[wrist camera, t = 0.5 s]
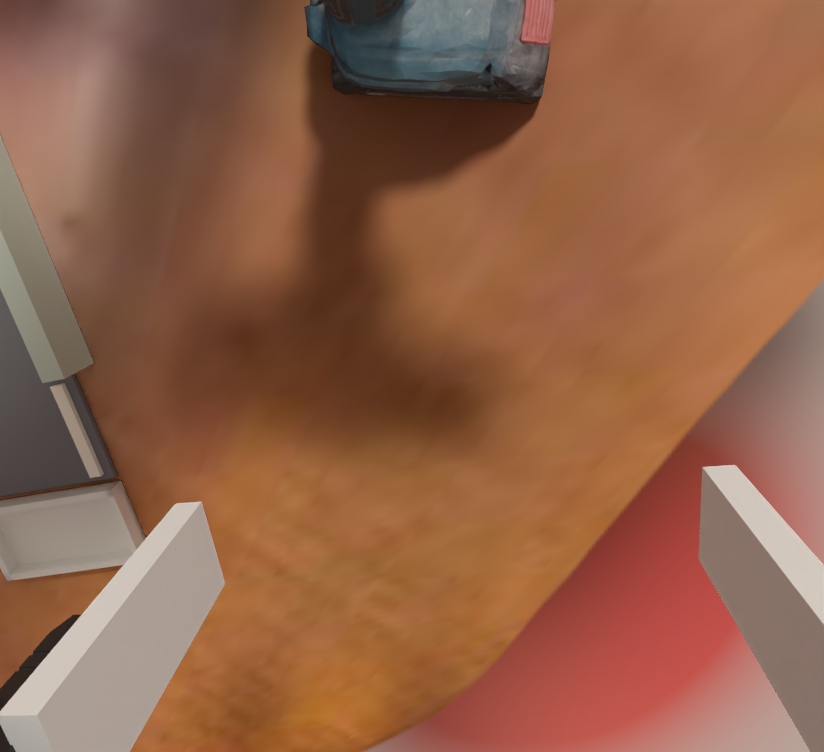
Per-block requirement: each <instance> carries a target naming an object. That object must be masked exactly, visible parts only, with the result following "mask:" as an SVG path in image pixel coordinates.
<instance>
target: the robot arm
mask: <svg viewBox="0 0 824 752" xmlns="http://www.w3.org/2000/svg"><path fill="white" fill-rule="evenodd" d="M700 515H701V516H700V539H699V561H700V563H701V565H702V566H703V568H704V570H705V571H706V573H707V575H708V577H709V578H710V580H711V582H712V583H713V585H714V587H715V589H716V590H717V592H718V594H719V595H720V597H721V599H722V601H723V602H724V604H725V606H726V607H727V609H728V611H729V613H730V614H731V616H732V618H733V619H734V621H735V623H736V625H737V626H738V628H739V630H740V632H741V633H742V635H743V636H744V638H745V640H746V642H747V644H748V645H749V647H750V649H751V650H752V652H753V654H754V655H755V657H756V659H757V661H758V662H759V664H760V665H761V667H762V669H763V671H764V672H765V674H766V676H767V678H768V680H769V681H770V683H771V685H772V686H773V688H774V690H775V692H776V693H777V695H778V696H779V698H780V700H781V702H782V704H783V705H784V707H785V709H786V710H787V712H788V714H789V716H790V717H791V719H792V721H793V722H794V724H795V726H796V728H797V729H798V731H799V733H800V734H801V736H802V738H803V740H804V741H805V743H806V745H807V746H808V748H809V750H810V752H824V565H823V564H822V563H821V561H820V560H819V559H818V558H817V557H816V556H815V555H814V554H813V552H812V551H811V550H810V549H809V548H808V547H807V546H806V545H805V543H804V542H803V541H802V540H801V539H800V538H799V537H798V536H797V534H796V533H795V532H794V531H793V530H792V529H791V528H790V526H789V525H788V524H787V523H786V522H785V521H784V520H783V518H781V516H780V515H779V514H778V513H777V512H776V511H775V510H774V508H773V507H772V506H771V505H770V504H769V503H768V502H767V500H766V499H765V498H764V497H763V496H762V495H761V494H760V493H759V491H758V490H757V489H756V488H755V487H754V486H753V485H752V483H751V482H750V481H749V480H748V479H747V478H746V477H745V476H744V474H743V473H742V472H741V471H740V470H739V469H738V468H737V466H736V465H727V466H712V467H702V491H701V514H700ZM224 585H225V581H224V578H223V574H222V571H221V567H220V564H219V560H218V557H217V553H216V550H215V546H214V543H213V539H212V536H211V533H210V529H209V526H208V522H207V519H206V515H205V512H204V508H203V505H202V502H190V503H176V504H175V505H174V506H173V507H172V508H171V509H170V511H169V512H168V513H167V514H166V515H165V517H164V518H163V519H162V520H161V521H160V522H159V524H158V525H157V526H156V527H155V528H154V530H153V531H152V532H151V533H150V534H149V535H148V537H147V538H146V539H145V540H144V541H143V543H142V544H141V545H140V546H139V547H138V549H137V550H136V551H135V552H134V553H133V554H132V556H131V557H130V558H129V559H128V560H127V562H126V563H125V564H124V565H123V566H122V567H121V569H120V570H119V571H118V572H117V573H116V575H115V576H114V577H113V578H112V579H111V581H110V582H109V583H108V584H107V585H106V586H105V588H104V589H103V590H102V591H101V592H100V594H99V595H98V596H97V597H96V598H95V599H94V601H93V602H92V603H91V604H90V605H89V607H88V608H87V609H86V610H85V611H84V612H83V614H82V615H73V616H71V617H70V618H69V619H67V620H66V621H65V622H63V623H62V624H61V625H59V626H58V627H56V628H55V629H54V630H52V631H51V632H50V633H49V634H48V635H47V636H46V638H45V639H44V640H43V641H42V642H41V643H40V644H39V646H38V647H37V648H36V649H35V650H34V651H33V655H30V656H29V657H28V658H27V659H26V660H25V661H24V663H23V664H22V665H21V666H20V667H19V671H16V672H15V673H14V674H13V675H12V676H11V677H10V678H9V680H8V681H7V682H6V683H5V684H4V685H3V686H2V688H1V689H0V752H130V750H131V749H132V747H133V745H134V743H135V741H136V740H137V738H138V736H139V734H140V733H141V731H142V729H143V727H144V726H145V724H146V722H147V720H148V719H149V717H150V715H151V713H152V712H153V710H154V708H155V706H156V704H157V703H158V701H159V699H160V697H161V696H162V694H163V692H164V690H165V689H166V687H167V685H168V683H169V682H170V680H171V678H172V676H173V675H174V673H175V671H176V669H177V667H178V666H179V664H180V662H181V660H182V659H183V657H184V655H185V653H186V652H187V650H188V648H189V646H190V645H191V643H192V641H193V639H194V638H195V636H196V634H197V632H198V630H199V629H200V627H201V625H202V623H203V622H204V620H205V618H206V616H207V615H208V613H209V611H210V609H211V608H212V606H213V604H214V602H215V601H216V599H217V597H218V595H219V593H220V592H221V590H222V588H223V586H224Z"/></svg>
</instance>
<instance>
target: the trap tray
mask: <svg viewBox="0 0 824 752" xmlns="http://www.w3.org/2000/svg"><path fill="white" fill-rule="evenodd" d="M145 539H146V538H145V536H144V533H143V531H142V529H141V526H140V524H139V521H138V519H137V517H136V514H135V512H134V510H133V507H132V505H131V503H130V500H129V498H128V495H127V493H126V491H125V488H124V486H123V484H122V481H115V482H109V483H103V484H97V485H91V486H84V487H78V488H72V489H66V490H60V491H54V492H48V493H41V494H35V495H29V496H23V497H17V498H11V499H5V500H0V569H1V571H2V573H3V574H4V576H5V578H6V580H7V581H12V580H19V579H26V578H34V577H41V576H48V575H55V574H62V573H70V572H77V571H84V570H91V569H99V568H106V567H113V566H120V565H124V564H125V563H126V562H127V560H128V559H129V558H130V557H131V556H132V554H133V553H134V552H135V551H136V550H137V549H138V547H139V546H140V545H141V544H142V543H143V541H144V540H145Z"/></svg>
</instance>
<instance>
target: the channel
mask: <svg viewBox="0 0 824 752" xmlns="http://www.w3.org/2000/svg"><path fill="white" fill-rule="evenodd" d="M0 289H1V291H2V294H3V296H4V298H5V300H6V303H7V305H8V307H9V309H10V312H11V314H12V316H13V318H14V320H15V323H16V325H17V327H18V329H19V332H20V334H21V336H22V338H23V341H24V343H25V345H26V347H27V350H28V352H29V354H30V356H31V359H32V361H33V363H34V365H35V368H36V370H37V372H38V374H39V377H40V379H41V381H42V383H46V382H51V381H56V380H61V379H65V378H67V377H69V376H71V375H73V374H75V373H77V372H78V371H80V370H82V369H84V368H86V367H88V366H90V365H92V364H93V363H94V362H93V359H92V357H91V354H90V352H89V350H88V347H87V345H86V342H85V340H84V337H83V335H82V333H81V330H80V328H79V325H78V323H77V320H76V318H75V316H74V313H73V311H72V308H71V306H70V303H69V301H68V298H67V296H66V294H65V291H64V289H63V286H62V284H61V281H60V279H59V277H58V274H57V272H56V269H55V267H54V264H53V262H52V259H51V257H50V255H49V252H48V250H47V247H46V245H45V242H44V240H43V238H42V235H41V233H40V230H39V228H38V225H37V223H36V221H35V218H34V216H33V213H32V211H31V208H30V206H29V203H28V201H27V199H26V196H25V194H24V191H23V189H22V186H21V184H20V182H19V179H18V177H17V174H16V172H15V169H14V167H13V165H12V162H11V160H10V157H9V155H8V152H7V150H6V147H5V145H4V143H3V140H2V138H1V135H0Z"/></svg>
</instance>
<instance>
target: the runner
mask: <svg viewBox="0 0 824 752" xmlns="http://www.w3.org/2000/svg"><path fill="white" fill-rule="evenodd" d="M117 476H118V475H117V472H116V470H115V468H114V465H113V463H112V460H111V458H110V456H109V453H108V451H107V449H106V446H105V444H104V442H103V439H102V437H101V435H100V432H99V430H98V427H97V425H96V423H95V420H94V418H93V416H92V413H91V411H90V409H89V406H88V404H87V402H86V399H85V397H84V394H83V392H82V390H81V387H80V385H79V383H78V380H77V378H76V376H75V374H73V375H71V376H69V377H67V378H65V379H61V380H56V381H51V382H46V383H42V381H41V379H40V377H39V374H38V372H37V370H36V368H35V365H34V363H33V361H32V359H31V356H30V354H29V352H28V350H27V347H26V345H25V343H24V341H23V338H22V336H21V334H20V332H19V329H18V327H17V325H16V323H15V320H14V318H13V316H12V314H11V312H10V309H9V307H8V305H7V303H6V300H5V298H4V296H3V294H2V291H1V289H0V497H1V496H7V495H13V494H20V493H26V492H32V491H38V490H44V489H50V488H56V487H62V486H68V485H74V484H80V483H86V482H93V481H99V480H105V479H111V478H115V477H117Z"/></svg>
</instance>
